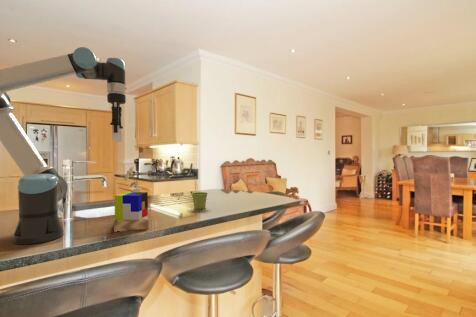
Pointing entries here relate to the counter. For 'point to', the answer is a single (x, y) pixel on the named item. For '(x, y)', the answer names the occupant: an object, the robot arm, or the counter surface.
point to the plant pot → (199, 199)
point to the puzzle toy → (131, 205)
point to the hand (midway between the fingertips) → (117, 141)
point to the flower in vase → (133, 179)
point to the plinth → (131, 224)
